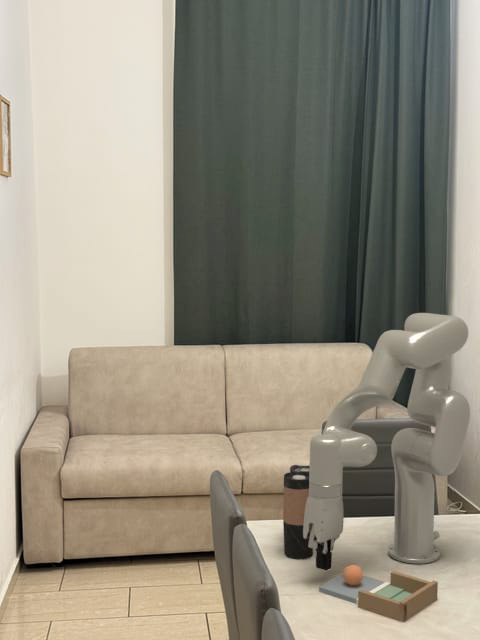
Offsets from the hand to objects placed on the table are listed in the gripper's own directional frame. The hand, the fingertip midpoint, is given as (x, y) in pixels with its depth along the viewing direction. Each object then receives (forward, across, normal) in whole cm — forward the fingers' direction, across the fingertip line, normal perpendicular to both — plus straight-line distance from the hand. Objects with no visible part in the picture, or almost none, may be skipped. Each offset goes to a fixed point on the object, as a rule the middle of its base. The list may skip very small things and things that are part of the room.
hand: (323, 568), depth 195 cm
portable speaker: (+3, -18, -18) cm, 26 cm away
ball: (0, -1, +8) cm, 8 cm away
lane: (+3, -1, +14) cm, 14 cm away
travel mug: (+3, -10, -14) cm, 18 cm away
